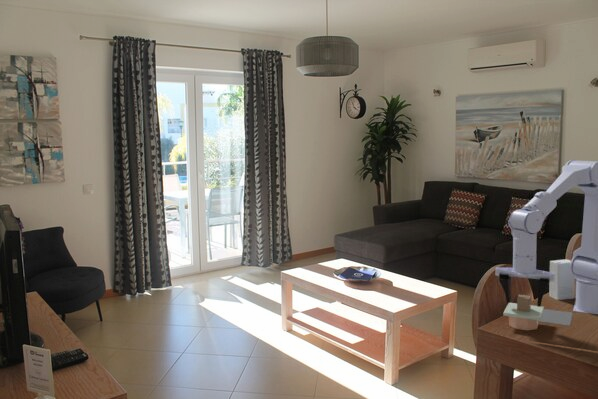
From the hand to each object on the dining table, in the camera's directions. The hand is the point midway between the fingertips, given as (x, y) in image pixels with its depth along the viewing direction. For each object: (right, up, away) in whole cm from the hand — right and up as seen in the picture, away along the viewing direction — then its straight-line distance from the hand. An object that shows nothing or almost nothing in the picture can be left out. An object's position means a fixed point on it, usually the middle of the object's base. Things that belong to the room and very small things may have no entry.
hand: (523, 303), depth 142 cm
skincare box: (+21, -3, +22) cm, 31 cm away
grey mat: (+10, -5, +6) cm, 13 cm away
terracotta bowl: (0, -6, +1) cm, 6 cm away
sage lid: (0, -3, 0) cm, 3 cm away
